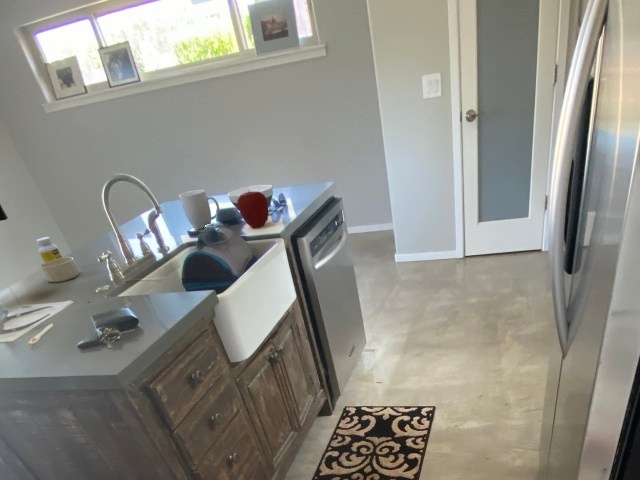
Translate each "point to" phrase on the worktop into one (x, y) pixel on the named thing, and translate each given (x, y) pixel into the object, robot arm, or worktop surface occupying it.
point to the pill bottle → (48, 249)
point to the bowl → (264, 189)
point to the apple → (253, 208)
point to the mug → (197, 208)
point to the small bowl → (60, 269)
